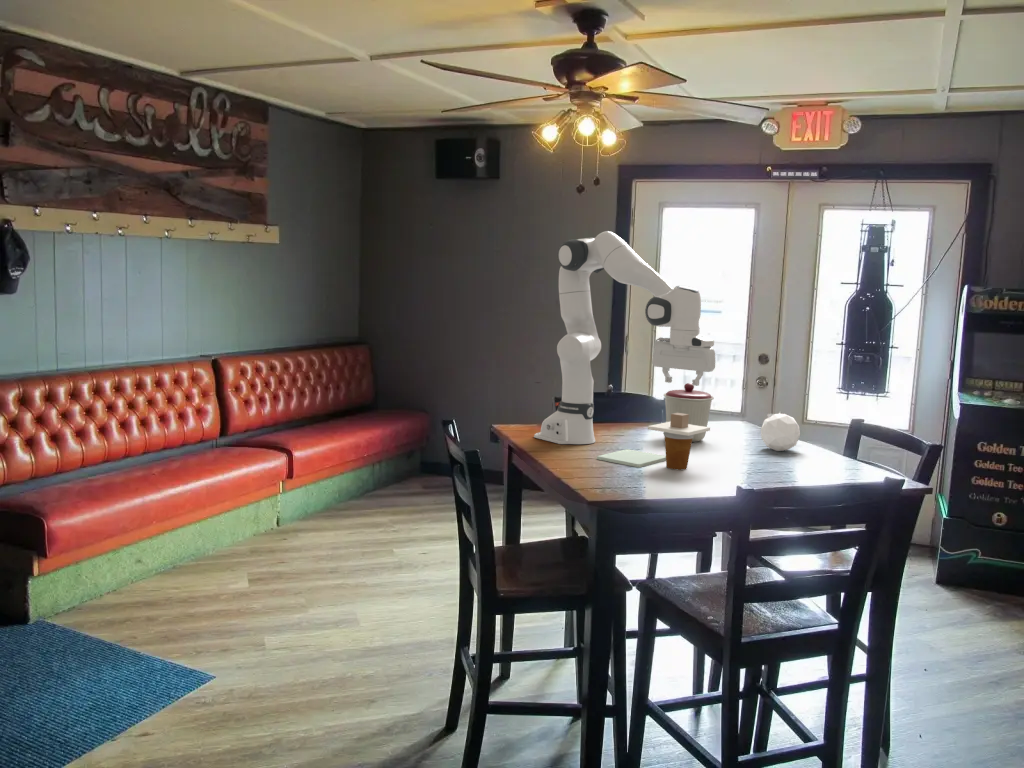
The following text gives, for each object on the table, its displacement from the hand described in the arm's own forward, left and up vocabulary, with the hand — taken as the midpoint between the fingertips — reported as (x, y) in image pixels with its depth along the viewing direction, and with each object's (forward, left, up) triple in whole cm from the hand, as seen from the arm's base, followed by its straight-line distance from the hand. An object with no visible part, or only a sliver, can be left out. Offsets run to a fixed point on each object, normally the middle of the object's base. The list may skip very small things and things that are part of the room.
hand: (681, 383), depth 267 cm
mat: (-16, 0, -26) cm, 31 cm away
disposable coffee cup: (0, 0, -27) cm, 27 cm away
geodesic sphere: (+10, +55, -27) cm, 62 cm away
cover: (0, 0, -14) cm, 14 cm away
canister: (-22, +46, -27) cm, 58 cm away
